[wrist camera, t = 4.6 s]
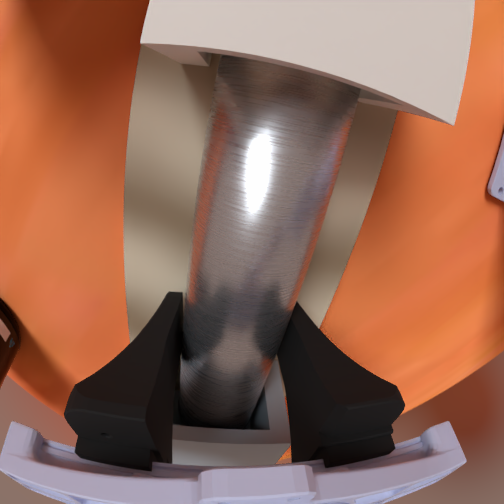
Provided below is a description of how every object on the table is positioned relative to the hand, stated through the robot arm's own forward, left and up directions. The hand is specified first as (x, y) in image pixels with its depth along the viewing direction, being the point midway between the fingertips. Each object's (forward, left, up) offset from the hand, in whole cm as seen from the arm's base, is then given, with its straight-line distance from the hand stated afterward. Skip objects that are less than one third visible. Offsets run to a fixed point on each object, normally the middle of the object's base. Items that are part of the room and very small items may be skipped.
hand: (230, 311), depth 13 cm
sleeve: (0, -12, -1) cm, 12 cm away
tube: (0, -2, -1) cm, 2 cm away
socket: (0, +7, -1) cm, 7 cm away
